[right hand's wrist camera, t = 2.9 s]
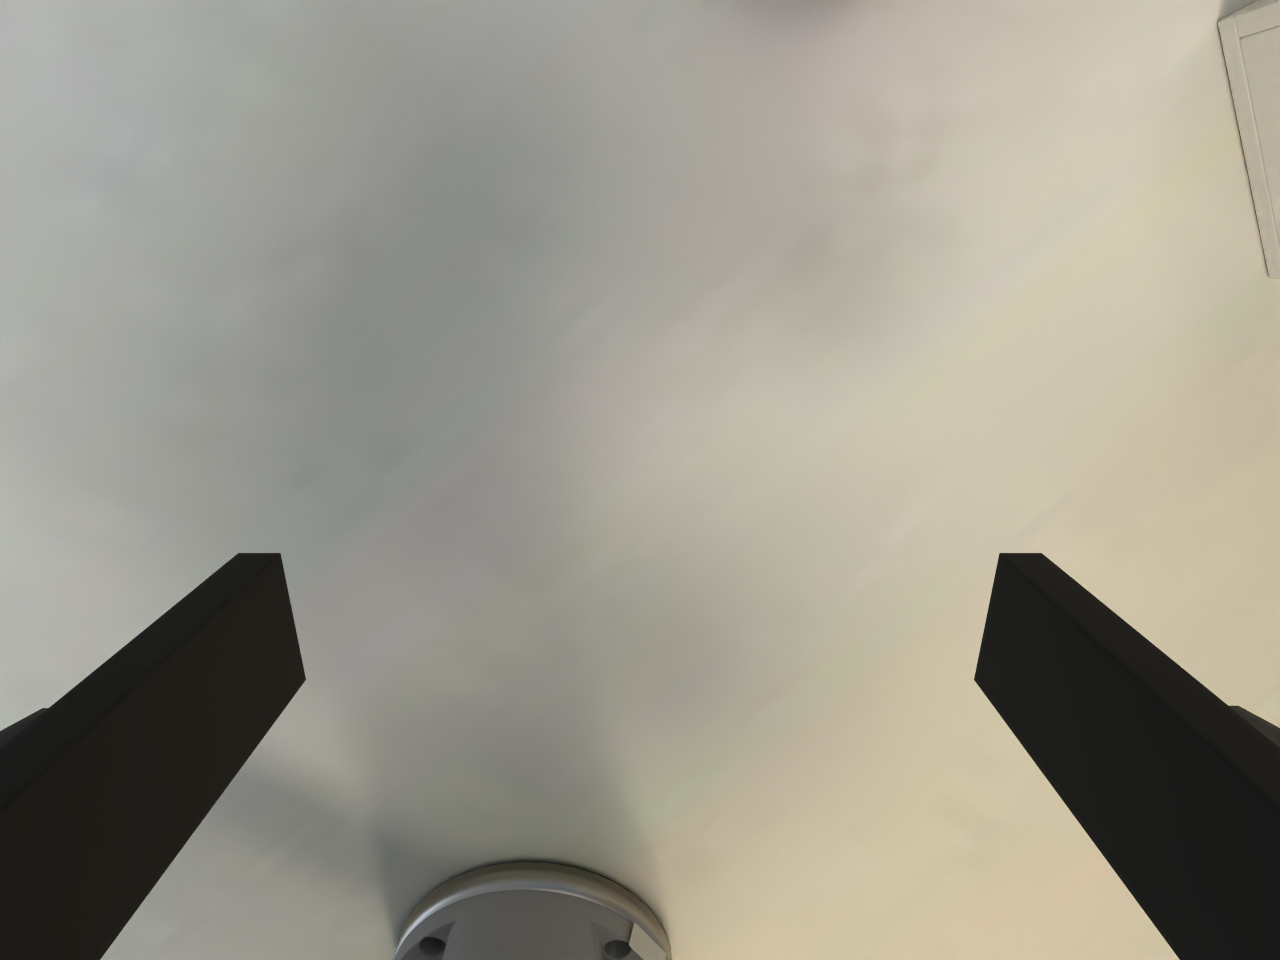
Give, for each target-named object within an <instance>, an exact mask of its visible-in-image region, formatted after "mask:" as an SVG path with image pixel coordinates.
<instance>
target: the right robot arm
mask: <svg viewBox="0 0 1280 960" xmlns="http://www.w3.org/2000/svg"><path fill="white" fill-rule="evenodd" d="M305 680H306V678H305V673H304V668H303V663H302V658H301V653H300V648H299V643H298V638H297V633H296V628H295V623H294V618H293V613H292V608H291V603H290V598H289V593H288V588H287V584H286V579H285V574H284V569H283V564H282V559H281V554H280V553H238V554H237V555H236V556H234V557H233V558H232V559H231V560H230V561H228V562H227V563H226V564H225V565H223V566H222V567H221V568H220V569H218V570H217V571H216V572H215V573H214V574H212V575H211V576H210V577H209V578H207V579H206V580H205V581H204V582H203V583H201V584H200V585H199V586H198V587H196V588H195V589H194V590H193V591H192V592H190V593H189V594H188V595H187V596H185V597H184V598H183V599H182V600H181V601H179V602H178V603H177V604H176V605H174V606H173V607H172V608H171V609H170V610H168V611H167V612H166V613H165V614H163V615H162V616H161V617H160V618H159V619H157V620H156V621H155V622H154V623H152V624H151V625H150V626H149V627H148V628H146V629H145V630H144V631H143V632H141V633H140V634H139V635H138V636H137V637H135V638H134V639H133V640H132V641H130V642H129V643H128V644H127V645H125V646H124V647H123V648H122V649H121V650H119V651H118V652H117V653H116V654H114V655H113V656H112V657H111V658H110V659H108V660H107V661H106V662H105V663H103V664H102V665H101V666H100V667H99V668H97V669H96V670H95V671H94V672H92V673H91V674H90V675H89V676H88V677H86V678H85V679H84V680H83V681H81V682H80V683H79V684H78V685H77V686H75V687H74V688H73V689H72V690H70V691H69V692H68V693H67V694H66V695H64V696H63V697H62V698H61V699H59V700H58V701H57V702H56V703H55V704H53V705H52V706H51V707H50V708H42V709H40V710H39V711H37V712H35V713H33V714H31V715H29V716H27V717H26V718H24V719H22V720H20V721H18V722H16V723H15V724H13V725H11V726H9V727H7V728H5V729H3V730H2V731H0V960H100V959H101V958H102V956H103V955H104V954H105V952H106V951H107V950H108V948H109V947H110V945H111V944H112V943H113V941H114V940H115V939H116V937H117V936H118V935H119V933H120V932H121V930H122V929H123V928H124V926H125V925H126V924H127V922H128V921H129V920H130V918H131V917H132V916H133V914H134V913H135V911H136V910H137V909H138V907H139V906H140V905H141V903H142V902H143V901H144V899H145V898H146V896H147V895H148V894H149V892H150V891H151V890H152V888H153V887H154V886H155V884H156V883H157V882H158V880H159V879H160V877H161V876H162V875H163V873H164V872H165V871H166V869H167V868H168V867H169V865H170V864H171V862H172V861H173V860H174V858H175V857H176V856H177V854H178V853H179V852H180V850H181V849H182V848H183V846H184V845H185V843H186V842H187V841H188V839H189V838H190V837H191V835H192V834H193V833H194V831H195V830H196V828H197V827H198V826H199V824H200V823H201V822H202V820H203V819H204V818H205V816H206V815H207V813H208V812H209V811H210V809H211V808H212V807H213V805H214V804H215V803H216V801H217V800H218V799H219V797H220V796H221V794H222V793H223V792H224V790H225V789H226V788H227V786H228V785H229V784H230V782H231V781H232V779H233V778H234V777H235V775H236V774H237V773H238V771H239V770H240V769H241V767H242V766H243V765H244V763H245V762H246V760H247V759H248V758H249V756H250V755H251V754H252V752H253V751H254V750H255V748H256V747H257V745H258V744H259V743H260V741H261V740H262V739H263V737H264V736H265V735H266V733H267V732H268V730H269V729H270V728H271V726H272V725H273V724H274V722H275V721H276V720H277V718H278V717H279V716H280V714H281V713H282V711H283V710H284V709H285V707H286V706H287V705H288V703H289V702H290V701H291V699H292V698H293V696H294V695H295V694H296V692H297V691H298V690H299V688H300V687H301V686H302V684H303V683H304V682H305ZM974 680H975V682H976V683H977V684H978V686H979V687H980V688H981V690H982V691H983V692H984V694H985V695H986V696H987V698H988V699H989V701H990V702H991V703H992V705H993V706H994V707H995V709H996V710H997V711H998V713H999V714H1000V716H1001V717H1002V718H1003V720H1004V721H1005V722H1006V724H1007V725H1008V726H1009V728H1010V729H1011V730H1012V732H1013V733H1014V735H1015V736H1016V737H1017V739H1018V740H1019V741H1020V743H1021V744H1022V745H1023V747H1024V748H1025V750H1026V751H1027V752H1028V754H1029V755H1030V756H1031V758H1032V759H1033V760H1034V762H1035V763H1036V765H1037V766H1038V767H1039V769H1040V770H1041V771H1042V773H1043V774H1044V775H1045V777H1046V778H1047V779H1048V781H1049V782H1050V784H1051V785H1052V786H1053V788H1054V789H1055V790H1056V792H1057V793H1058V794H1059V796H1060V797H1061V799H1062V800H1063V801H1064V803H1065V804H1066V805H1067V807H1068V808H1069V809H1070V811H1071V812H1072V813H1073V815H1074V816H1075V818H1076V819H1077V820H1078V822H1079V823H1080V824H1081V826H1082V827H1083V828H1084V830H1085V831H1086V833H1087V834H1088V835H1089V837H1090V838H1091V839H1092V841H1093V842H1094V843H1095V845H1096V846H1097V848H1098V849H1099V850H1100V852H1101V853H1102V854H1103V856H1104V857H1105V858H1106V860H1107V861H1108V862H1109V864H1110V865H1111V867H1112V868H1113V869H1114V871H1115V872H1116V873H1117V875H1118V876H1119V877H1120V879H1121V880H1122V882H1123V883H1124V884H1125V886H1126V887H1127V888H1128V890H1129V891H1130V892H1131V894H1132V895H1133V896H1134V898H1135V899H1136V901H1137V902H1138V903H1139V905H1140V906H1141V907H1142V909H1143V910H1144V911H1145V913H1146V914H1147V916H1148V917H1149V918H1150V920H1151V921H1152V922H1153V924H1154V925H1155V926H1156V928H1157V929H1158V930H1159V932H1160V933H1161V935H1162V936H1163V937H1164V939H1165V940H1166V941H1167V943H1168V944H1169V945H1170V947H1171V948H1172V950H1173V951H1174V952H1175V954H1176V955H1177V956H1178V958H1179V959H1180V960H1280V728H1278V727H1277V726H1275V725H1273V724H1271V723H1269V722H1267V721H1265V720H1264V719H1262V718H1260V717H1258V716H1256V715H1254V714H1252V713H1251V712H1249V711H1247V710H1245V709H1243V708H1241V707H1239V706H1228V705H1227V704H1225V703H1224V702H1223V701H1222V700H1221V699H1219V698H1218V697H1217V696H1216V695H1214V694H1213V693H1212V692H1211V691H1210V690H1208V689H1207V688H1206V687H1205V686H1203V685H1202V684H1201V683H1200V682H1199V681H1197V680H1196V679H1195V678H1194V677H1192V676H1191V675H1190V674H1189V673H1188V672H1186V671H1185V670H1184V669H1183V668H1181V667H1180V666H1179V665H1178V664H1177V663H1175V662H1174V661H1173V660H1172V659H1170V658H1169V657H1168V656H1167V655H1166V654H1164V653H1163V652H1162V651H1161V650H1159V649H1158V648H1157V647H1156V646H1155V645H1153V644H1152V643H1151V642H1150V641H1148V640H1147V639H1146V638H1145V637H1143V636H1142V635H1141V634H1140V633H1139V632H1137V631H1136V630H1135V629H1134V628H1132V627H1131V626H1130V625H1129V624H1128V623H1126V622H1125V621H1124V620H1123V619H1121V618H1120V617H1119V616H1118V615H1117V614H1115V613H1114V612H1113V611H1112V610H1110V609H1109V608H1108V607H1107V606H1106V605H1104V604H1103V603H1102V602H1101V601H1099V600H1098V599H1097V598H1096V597H1095V596H1093V595H1092V594H1091V593H1090V592H1088V591H1087V590H1086V589H1085V588H1084V587H1082V586H1081V585H1080V584H1079V583H1077V582H1076V581H1075V580H1074V579H1073V578H1071V577H1070V576H1069V575H1068V574H1066V573H1065V572H1064V571H1063V570H1062V569H1060V568H1059V567H1058V566H1057V565H1055V564H1054V563H1053V562H1052V561H1050V560H1049V559H1048V558H1047V557H1046V556H1044V555H1043V554H1042V553H1000V554H999V559H998V564H997V569H996V574H995V579H994V584H993V588H992V593H991V598H990V603H989V608H988V613H987V618H986V623H985V628H984V633H983V638H982V643H981V648H980V653H979V658H978V663H977V668H976V673H975V678H974ZM393 960H671V951H670V945H669V942H668V939H667V936H666V934H665V932H664V930H663V927H662V926H661V924H660V923H659V921H658V919H657V918H656V917H655V915H654V914H653V913H652V912H651V910H650V909H649V908H648V907H647V906H646V905H645V904H644V903H643V902H642V901H640V900H639V899H638V898H637V897H636V896H634V895H633V894H632V893H630V892H629V891H627V890H626V889H624V888H623V887H621V886H619V885H618V884H616V883H614V882H612V881H610V880H608V879H606V878H604V877H601V876H599V875H596V874H594V873H591V872H588V871H585V870H581V869H578V868H574V867H570V866H564V865H559V864H552V863H541V862H514V863H504V864H497V865H492V866H487V867H483V868H479V869H475V870H472V871H469V872H467V873H464V874H461V875H459V876H457V877H455V878H452V879H450V880H449V881H447V882H445V883H443V884H442V885H440V886H439V887H437V888H436V889H434V890H433V891H431V892H430V893H429V894H428V895H427V896H426V897H425V898H423V899H422V900H421V902H420V903H419V904H418V905H417V906H416V907H415V909H414V910H413V911H412V913H411V914H410V916H409V918H408V920H407V921H406V923H405V926H404V929H403V931H402V934H401V937H400V940H399V943H398V946H397V949H396V952H395V955H394V958H393Z"/></svg>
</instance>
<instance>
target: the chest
mask: <svg viewBox="0 0 1280 960" xmlns="http://www.w3.org/2000/svg"><path fill="white" fill-rule="evenodd" d="M1218 26H1219V31H1220V36H1221V41H1222V46H1223V51H1224V56H1225V61H1226V66H1227V71H1228V76H1229V81H1230V86H1231V91H1232V96H1233V101H1234V106H1235V110H1236V115H1237V120H1238V125H1239V130H1240V135H1241V140H1242V145H1243V150H1244V155H1245V160H1246V165H1247V170H1248V175H1249V180H1250V185H1251V190H1252V195H1253V200H1254V205H1255V210H1256V215H1257V220H1258V224H1259V229H1260V234H1261V239H1262V244H1263V249H1264V254H1265V259H1266V264H1267V269H1268V274H1269V277H1270V278H1279V279H1280V0H1257V1H1255V2H1254V3H1252V4H1250V5H1248V6H1246V7H1244V8H1242V9H1241V10H1239V11H1237V12H1235V13H1233V14H1231V15H1229V16H1227V17H1226V18H1224V19H1222V20H1220V21H1219V22H1218Z"/></svg>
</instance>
